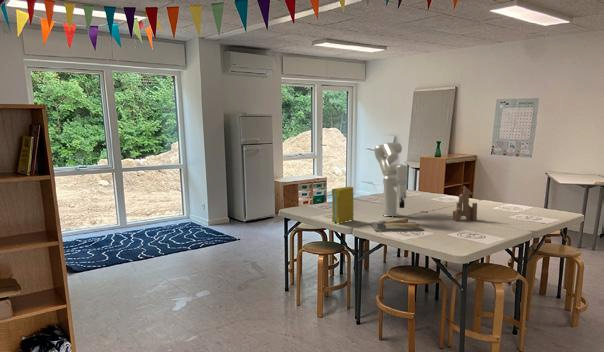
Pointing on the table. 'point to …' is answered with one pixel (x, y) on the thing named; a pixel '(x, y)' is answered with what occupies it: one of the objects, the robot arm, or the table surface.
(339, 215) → the book
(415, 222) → the mat
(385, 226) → the tongs fixed
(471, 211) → the wooden toy
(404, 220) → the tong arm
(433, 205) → the table surface
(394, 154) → the robot arm
